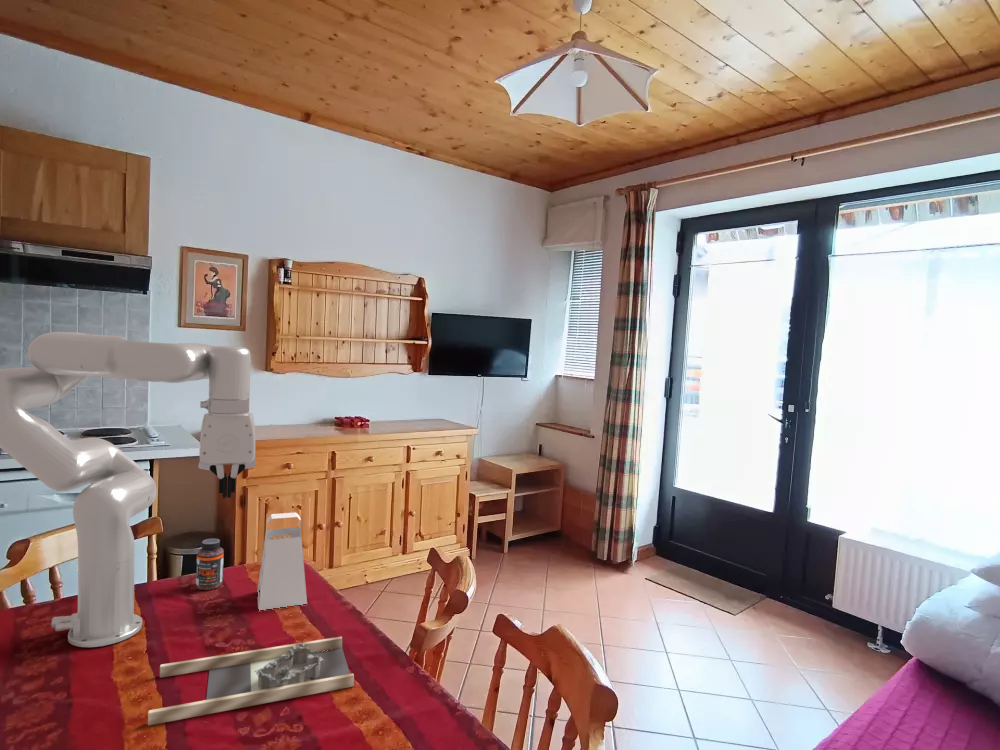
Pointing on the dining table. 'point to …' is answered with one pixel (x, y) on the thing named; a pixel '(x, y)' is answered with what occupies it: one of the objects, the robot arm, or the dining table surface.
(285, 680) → the egg carton
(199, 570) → the supplement bottle
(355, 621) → the dining table surface
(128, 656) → the dining table surface
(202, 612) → the dining table surface
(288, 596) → the grater
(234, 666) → the channel
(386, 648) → the dining table surface
